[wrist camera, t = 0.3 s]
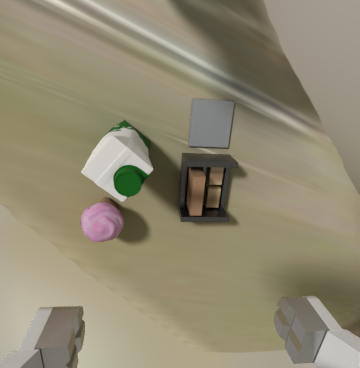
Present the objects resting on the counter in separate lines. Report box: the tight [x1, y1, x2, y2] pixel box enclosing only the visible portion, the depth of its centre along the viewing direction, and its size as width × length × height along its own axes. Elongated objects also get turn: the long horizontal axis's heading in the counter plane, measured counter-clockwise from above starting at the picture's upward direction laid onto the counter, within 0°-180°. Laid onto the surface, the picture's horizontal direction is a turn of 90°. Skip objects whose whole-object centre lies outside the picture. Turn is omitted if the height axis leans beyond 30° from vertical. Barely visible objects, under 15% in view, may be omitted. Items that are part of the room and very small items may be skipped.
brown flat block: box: [185, 167, 206, 216], centre depth 55 cm, size 9×2×8 cm, turn 176°
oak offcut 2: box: [204, 185, 221, 208], centre depth 59 cm, size 5×3×2 cm, turn 176°
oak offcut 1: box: [207, 167, 224, 185], centre depth 57 cm, size 5×3×2 cm, turn 176°
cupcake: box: [81, 198, 124, 242], centre depth 54 cm, size 9×9×10 cm
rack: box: [178, 153, 238, 222], centre depth 56 cm, size 14×11×6 cm
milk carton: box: [81, 120, 153, 202], centre depth 44 cm, size 9×9×20 cm
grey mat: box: [189, 99, 235, 148], centre depth 53 cm, size 10×9×1 cm
